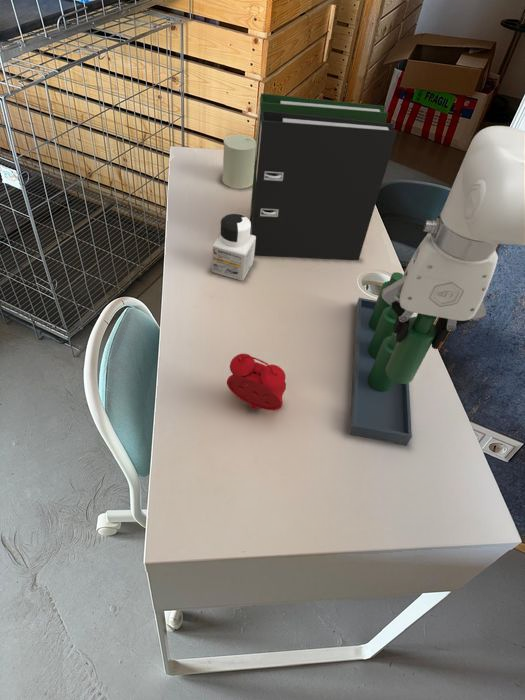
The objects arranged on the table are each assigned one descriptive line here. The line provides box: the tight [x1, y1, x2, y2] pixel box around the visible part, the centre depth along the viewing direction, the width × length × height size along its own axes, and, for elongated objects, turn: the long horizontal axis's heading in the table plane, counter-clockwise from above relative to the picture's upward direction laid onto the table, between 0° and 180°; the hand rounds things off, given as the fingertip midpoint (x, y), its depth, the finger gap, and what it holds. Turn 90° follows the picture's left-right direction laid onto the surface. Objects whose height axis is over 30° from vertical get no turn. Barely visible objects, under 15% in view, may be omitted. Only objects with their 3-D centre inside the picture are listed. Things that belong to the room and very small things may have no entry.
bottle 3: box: [368, 333, 397, 392], centre depth 88 cm, size 5×5×14 cm
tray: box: [349, 297, 413, 446], centre depth 95 cm, size 34×10×3 cm, turn 170°
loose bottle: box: [386, 313, 438, 384], centre depth 73 cm, size 5×5×14 cm
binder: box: [249, 93, 398, 261], centre depth 111 cm, size 27×15×32 cm, turn 91°
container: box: [211, 213, 256, 281], centre depth 108 cm, size 8×8×13 cm
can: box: [221, 134, 257, 190], centre depth 136 cm, size 9×9×12 cm
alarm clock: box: [226, 353, 287, 411], centre depth 81 cm, size 10×6×15 cm, turn 67°
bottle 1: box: [369, 271, 404, 331], centre depth 98 cm, size 5×5×14 cm
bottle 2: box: [368, 306, 398, 359], centre depth 93 cm, size 5×5×14 cm
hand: (416, 338), depth 72 cm, fingers closed on loose bottle, 4 cm apart
